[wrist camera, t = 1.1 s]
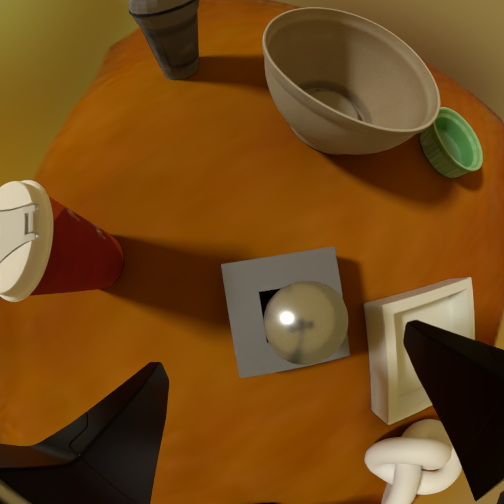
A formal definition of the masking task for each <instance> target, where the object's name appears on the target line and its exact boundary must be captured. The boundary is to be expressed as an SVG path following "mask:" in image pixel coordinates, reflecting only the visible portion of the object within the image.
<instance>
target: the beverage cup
mask: <svg viewBox="0 0 504 504" xmlns="http://www.w3.org/2000/svg"><path fill="white" fill-rule="evenodd" d="M198 6H199V0H129V13H130V14H131V15H132V16H133V18H134V19H135V21H136V22H137V24H138V25H139V26H140V27H141V29H142V31H143V33H144V35H145V38H146V40H147V42H148V44H149V46H150V48H151V50H152V52H153V54H154V56H155V58H156V60H157V62H158V64H159V66H160V68H161V69H162V71H163V72H164V75H165V76H166V77H167V78H169V79H172V80H181V79H185V78H187V77H190V76H191V75H193V74H194V73H195V72H196V71H197V70H198V66H199V65H198V58H199V50H198V22H197V10H198Z"/></svg>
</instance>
